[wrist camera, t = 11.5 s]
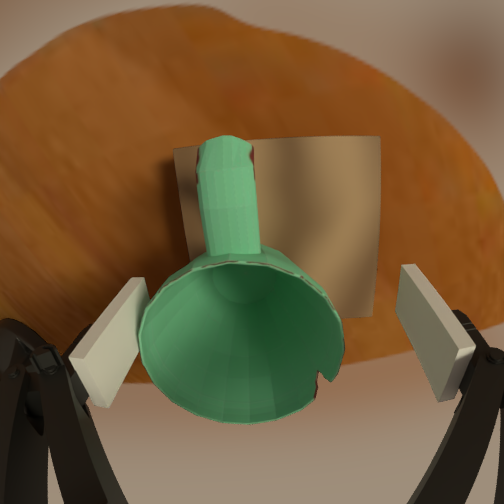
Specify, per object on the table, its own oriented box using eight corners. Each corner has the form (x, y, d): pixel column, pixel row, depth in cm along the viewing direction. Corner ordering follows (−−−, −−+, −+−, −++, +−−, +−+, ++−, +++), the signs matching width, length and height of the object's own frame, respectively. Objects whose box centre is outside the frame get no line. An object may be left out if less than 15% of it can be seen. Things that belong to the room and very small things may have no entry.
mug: (310, 324, 25) (337, 416, 16) (190, 332, 25) (164, 425, 16) (305, 133, 20) (348, 127, 11) (160, 146, 21) (94, 154, 11)
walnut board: (209, 303, 29) (201, 322, 26) (185, 145, 24) (172, 149, 21) (364, 297, 27) (371, 316, 24) (369, 134, 22) (380, 136, 19)
